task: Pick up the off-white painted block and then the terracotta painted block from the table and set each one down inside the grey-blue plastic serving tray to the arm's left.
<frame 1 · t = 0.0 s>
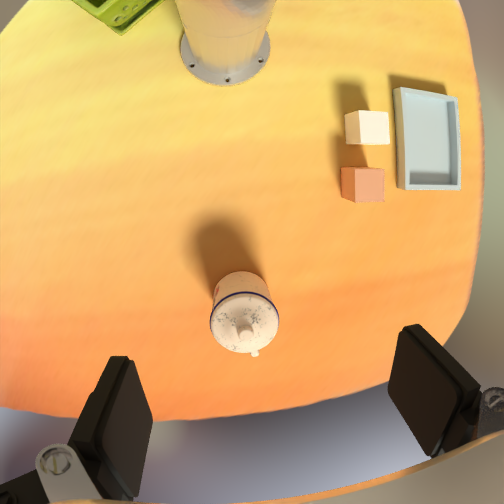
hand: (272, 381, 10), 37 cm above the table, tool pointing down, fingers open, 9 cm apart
teacup with lid: (243, 303, 50), on the table
terracotta block: (354, 182, 45), on the table
tray: (425, 140, 44), on the table
white block: (358, 129, 43), on the table
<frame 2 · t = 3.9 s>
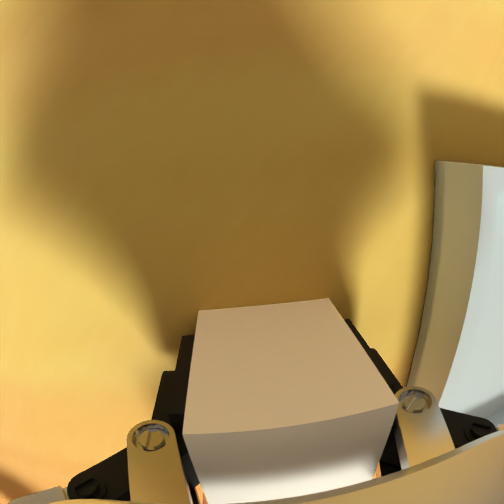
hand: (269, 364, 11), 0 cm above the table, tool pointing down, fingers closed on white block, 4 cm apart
tray: (501, 325, 12), on the table
white block: (267, 358, 11), on the table, touching gripper
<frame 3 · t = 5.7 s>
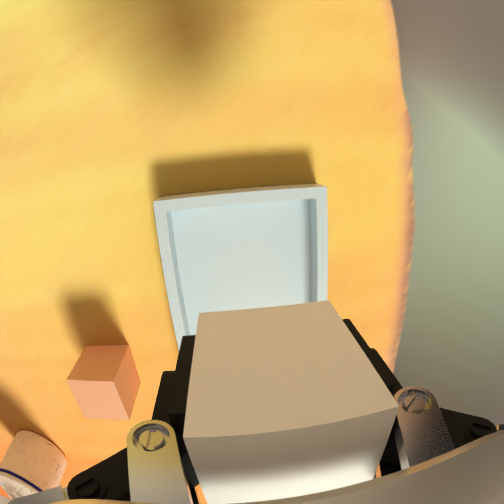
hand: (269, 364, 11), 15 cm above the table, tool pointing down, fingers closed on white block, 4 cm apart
teacup with lid: (47, 454, 32), on the table
terracotta block: (113, 363, 27), on the table
tray: (246, 287, 26), on the table
white block: (267, 360, 11), point 14 cm above the table, touching gripper
when the fingers open (3 cm above the table, at t = 7.9 s): white block drops 2 cm, resting on tray.
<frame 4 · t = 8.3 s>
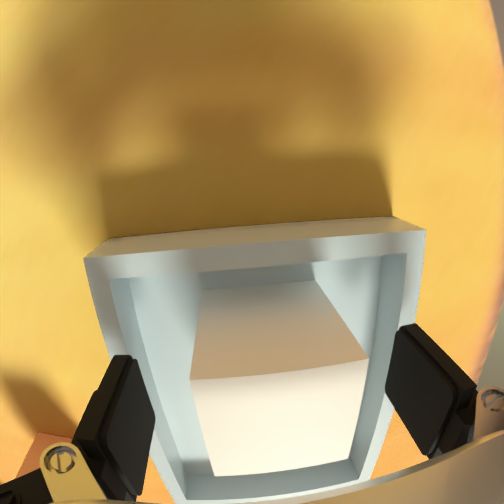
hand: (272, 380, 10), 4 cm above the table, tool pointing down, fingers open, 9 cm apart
terracotta block: (76, 456, 16), on the table
tray: (264, 385, 15), on the table
white block: (262, 334, 13), point 1 cm above the table, touching tray
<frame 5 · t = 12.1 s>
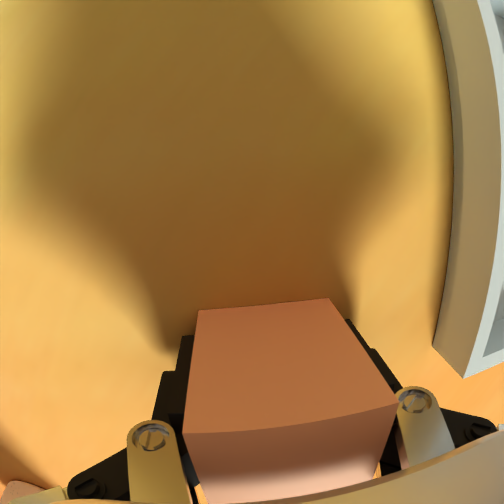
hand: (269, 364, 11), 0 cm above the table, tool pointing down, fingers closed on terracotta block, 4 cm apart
terracotta block: (267, 357, 11), on the table, touching gripper
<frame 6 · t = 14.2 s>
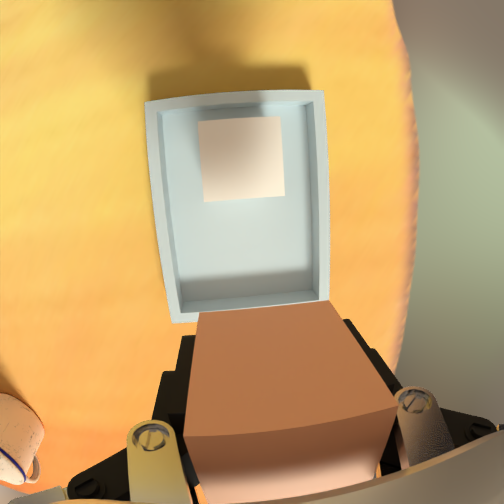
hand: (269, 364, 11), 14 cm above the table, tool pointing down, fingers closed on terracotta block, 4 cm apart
teacup with lid: (25, 423, 29), on the table
terracotta block: (267, 359, 11), point 14 cm above the table, touching gripper
tray: (241, 204, 24), on the table
white block: (237, 158, 22), point 1 cm above the table, touching tray
when the fingers open (3 cm above the table, at t = 16.3 s): terracotta block drops 2 cm, resting on tray.
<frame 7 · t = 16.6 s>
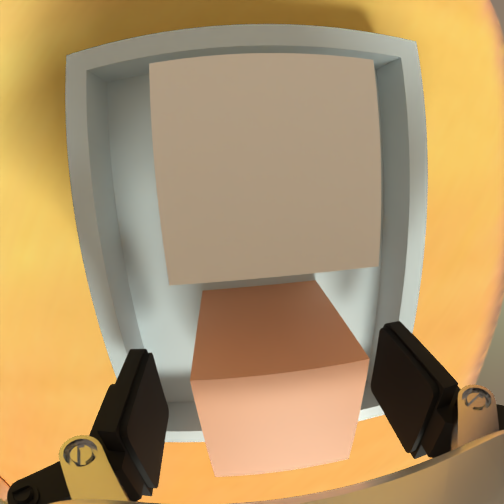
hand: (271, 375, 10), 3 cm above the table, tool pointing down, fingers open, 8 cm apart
terracotta block: (262, 334, 13), point 1 cm above the table, touching tray
tray: (256, 249, 13), on the table
white block: (251, 161, 11), point 1 cm above the table, touching tray
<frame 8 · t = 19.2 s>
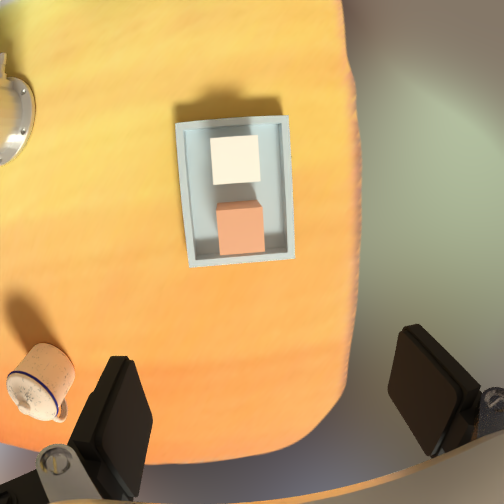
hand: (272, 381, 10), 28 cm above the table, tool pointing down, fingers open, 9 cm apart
teacup with lid: (57, 370, 42), on the table
terracotta block: (238, 220, 37), point 1 cm above the table, touching tray
tray: (236, 189, 36), on the table
white block: (234, 159, 34), point 1 cm above the table, touching tray
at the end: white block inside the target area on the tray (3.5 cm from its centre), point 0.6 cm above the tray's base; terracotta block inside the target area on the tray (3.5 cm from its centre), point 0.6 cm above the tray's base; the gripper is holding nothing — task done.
